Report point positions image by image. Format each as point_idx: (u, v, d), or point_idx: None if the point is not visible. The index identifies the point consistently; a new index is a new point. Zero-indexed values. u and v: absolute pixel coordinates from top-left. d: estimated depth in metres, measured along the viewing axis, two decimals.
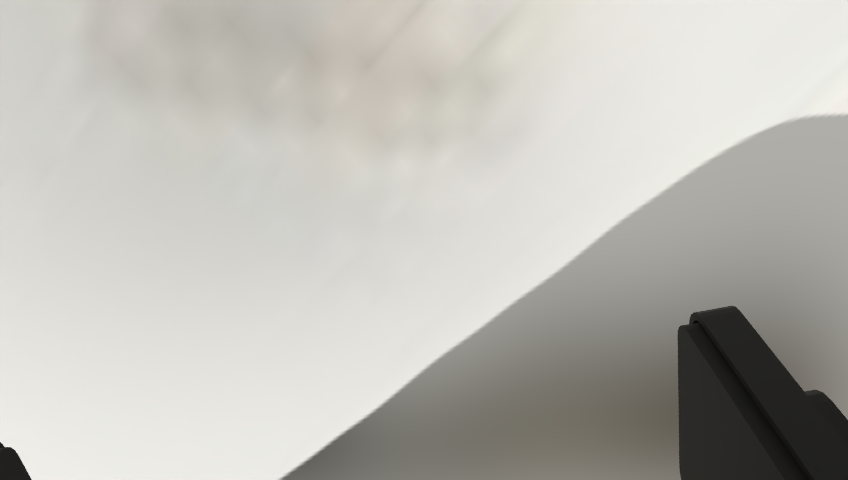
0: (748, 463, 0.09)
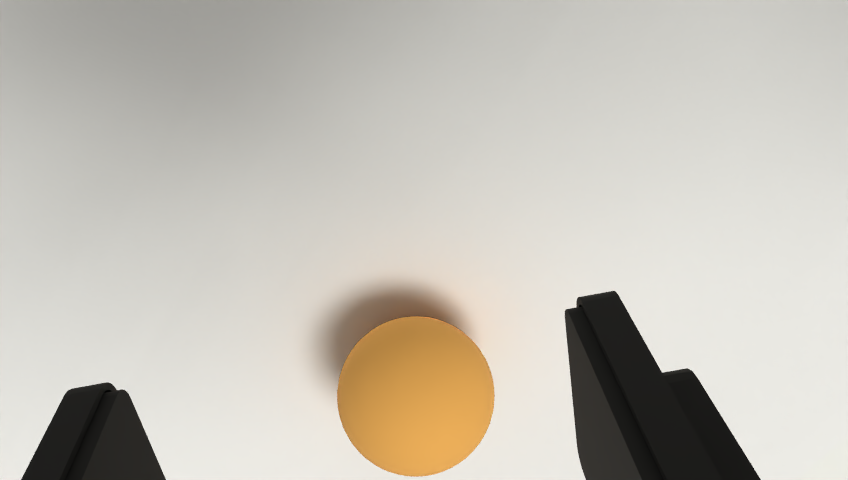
0: (608, 433, 0.09)
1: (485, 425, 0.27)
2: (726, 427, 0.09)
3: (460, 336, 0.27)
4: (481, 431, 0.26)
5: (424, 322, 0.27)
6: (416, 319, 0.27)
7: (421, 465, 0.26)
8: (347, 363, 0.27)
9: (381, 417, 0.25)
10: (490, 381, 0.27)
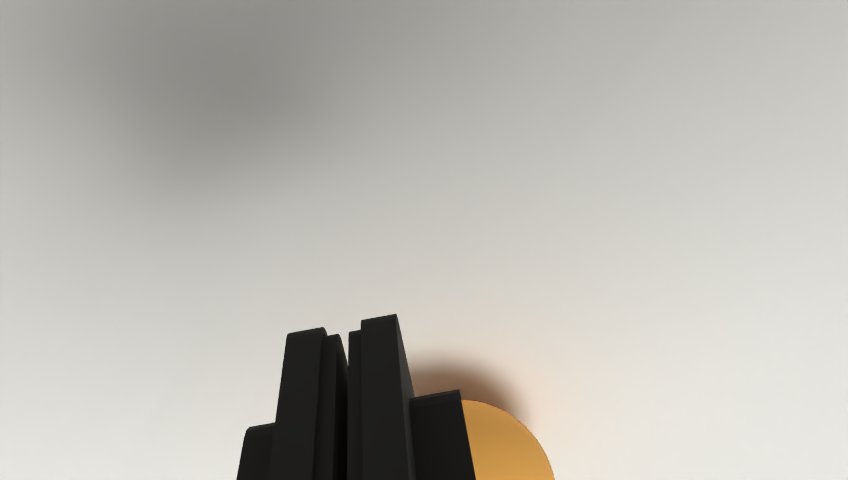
0: None
1: None
2: (469, 448, 0.10)
3: (517, 431, 0.22)
4: None
5: (474, 411, 0.22)
6: (463, 407, 0.23)
7: None
8: None
9: None
10: None
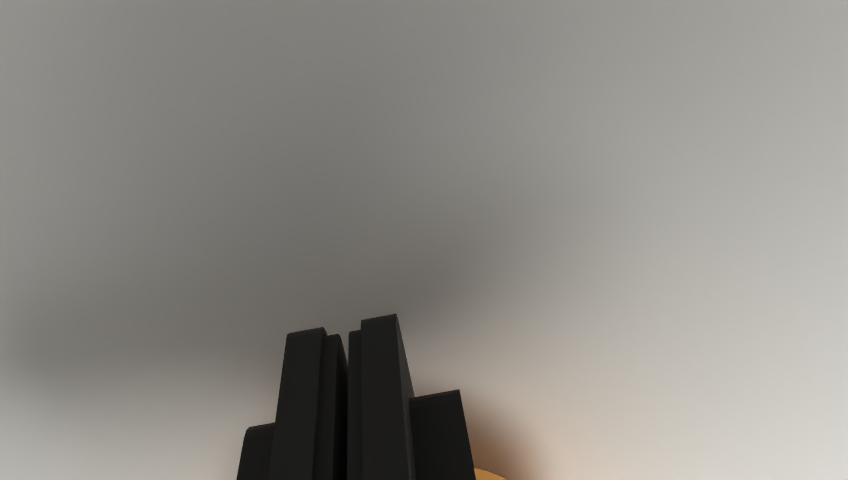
0: None
1: None
2: (469, 448, 0.10)
3: None
4: None
5: None
6: None
7: None
8: None
9: None
10: None
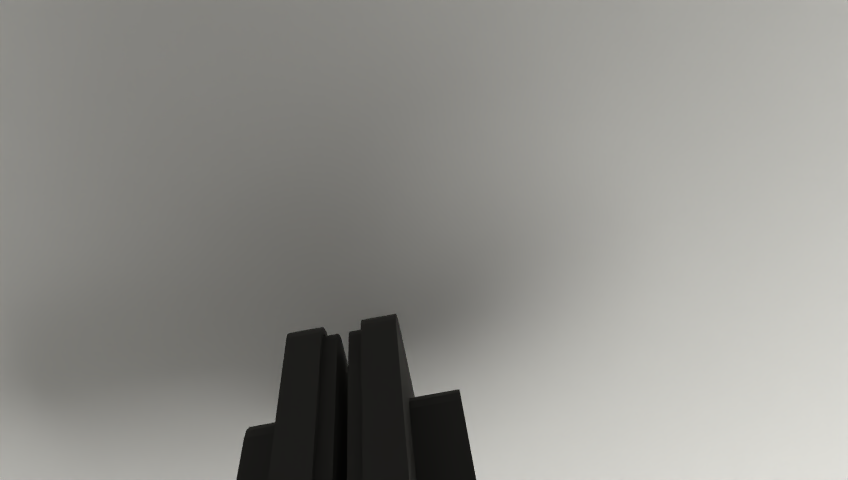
0: None
1: None
2: (469, 448, 0.10)
3: None
4: None
5: None
6: None
7: None
8: None
9: None
10: None
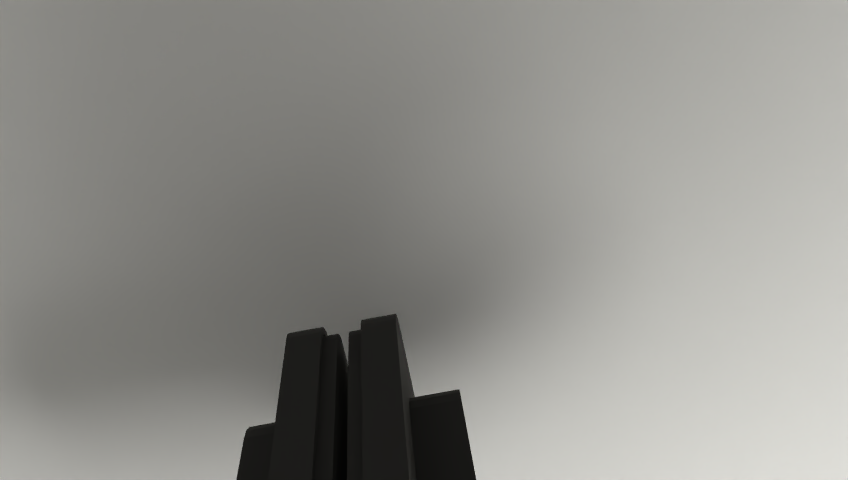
0: None
1: None
2: (469, 448, 0.10)
3: None
4: None
5: None
6: None
7: None
8: None
9: None
10: None
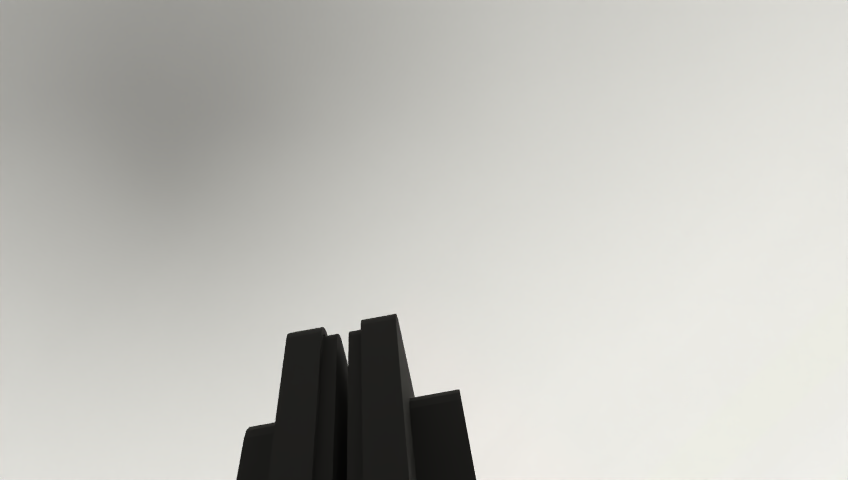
0: None
1: None
2: (469, 448, 0.10)
3: None
4: None
5: None
6: None
7: None
8: None
9: None
10: None
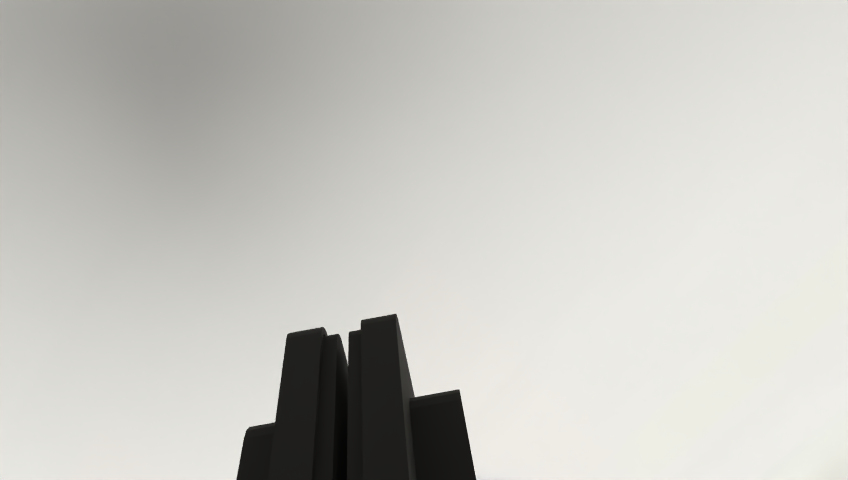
0: None
1: None
2: (469, 448, 0.10)
3: None
4: None
5: None
6: None
7: None
8: None
9: None
10: None
